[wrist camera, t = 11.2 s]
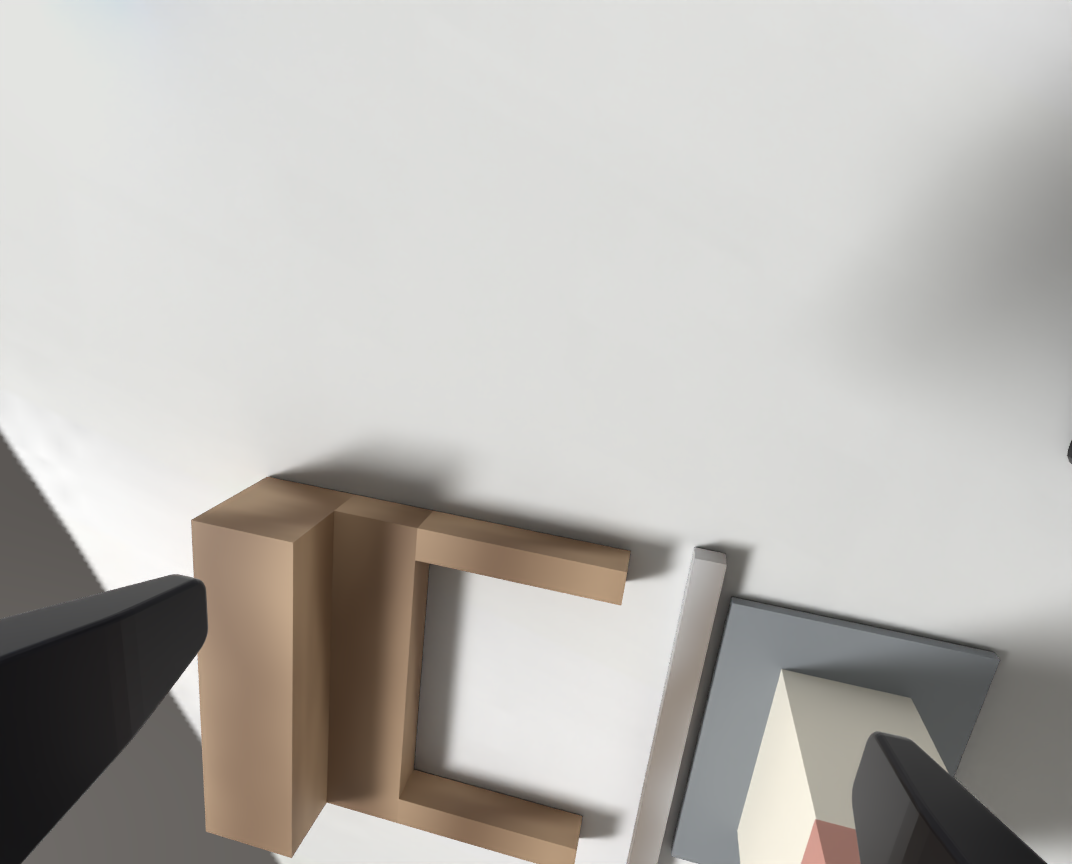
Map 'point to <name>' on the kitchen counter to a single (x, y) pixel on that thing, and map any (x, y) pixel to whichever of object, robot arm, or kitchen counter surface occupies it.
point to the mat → (826, 652)
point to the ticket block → (817, 769)
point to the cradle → (385, 667)
